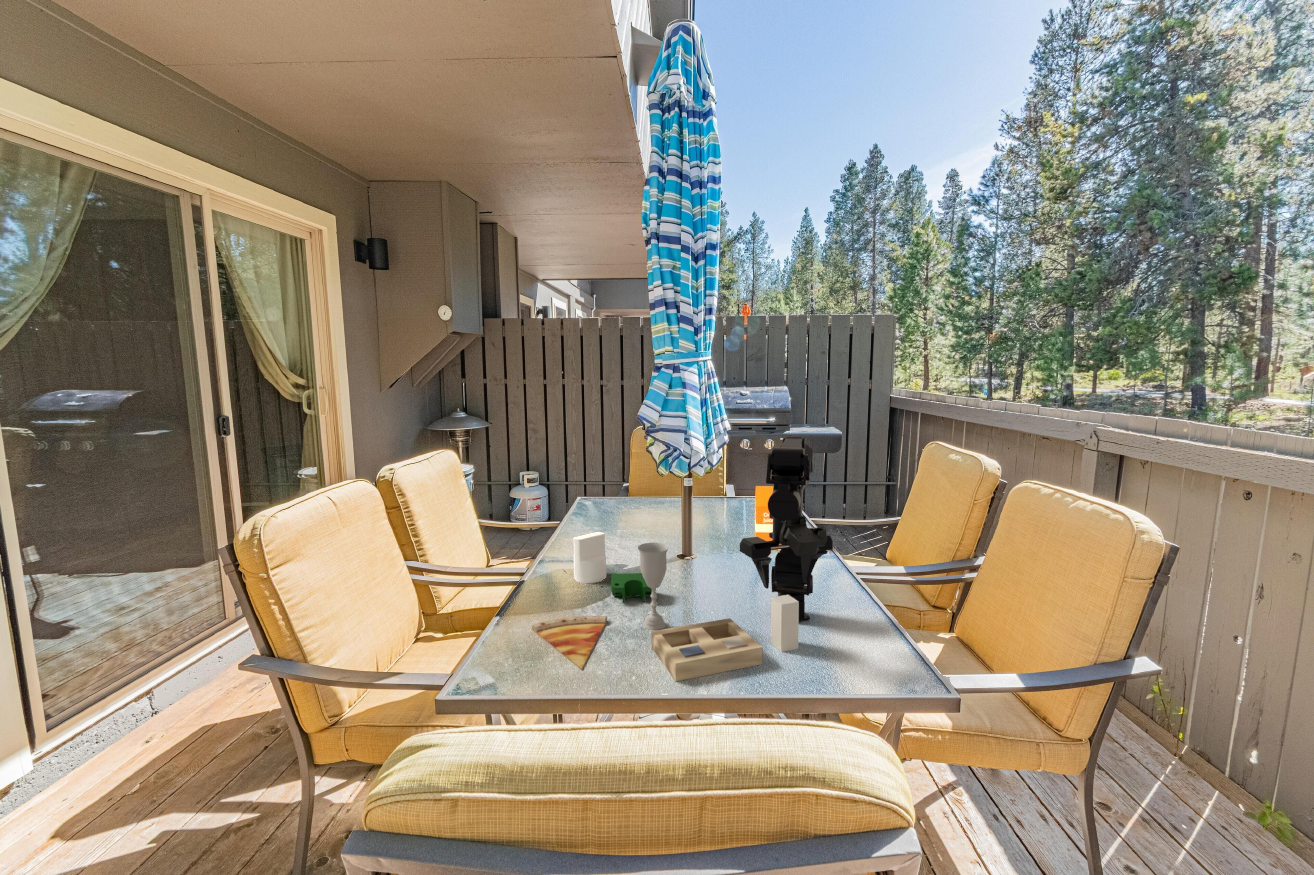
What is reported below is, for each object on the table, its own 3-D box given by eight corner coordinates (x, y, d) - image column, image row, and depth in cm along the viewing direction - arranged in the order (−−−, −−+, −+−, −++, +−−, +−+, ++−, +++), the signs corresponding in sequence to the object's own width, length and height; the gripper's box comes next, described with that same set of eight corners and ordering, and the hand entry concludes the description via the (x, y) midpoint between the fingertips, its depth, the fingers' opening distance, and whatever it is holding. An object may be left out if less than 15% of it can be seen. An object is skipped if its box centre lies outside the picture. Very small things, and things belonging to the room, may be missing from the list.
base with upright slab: (586, 585, 154) (584, 542, 153) (567, 577, 161) (566, 535, 159) (612, 577, 160) (611, 535, 158) (594, 569, 167) (593, 529, 165)
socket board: (651, 647, 119) (651, 630, 119) (730, 633, 125) (730, 616, 124) (675, 681, 106) (675, 662, 105) (762, 664, 112) (762, 645, 111)
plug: (770, 643, 120) (771, 597, 119) (787, 640, 121) (788, 594, 120) (781, 652, 116) (781, 604, 115) (798, 648, 118) (798, 601, 117)
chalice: (634, 621, 132) (632, 544, 130) (661, 615, 134) (660, 541, 132) (646, 634, 125) (645, 554, 123) (674, 628, 128) (673, 549, 126)
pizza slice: (503, 668, 113) (503, 658, 112) (541, 619, 134) (541, 611, 134) (581, 672, 110) (581, 662, 110) (607, 622, 132) (607, 614, 132)
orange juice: (754, 543, 190) (755, 483, 187) (782, 544, 188) (782, 484, 186) (755, 550, 182) (755, 488, 180) (783, 551, 181) (784, 488, 179)
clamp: (619, 618, 144) (604, 590, 141) (620, 603, 149) (605, 576, 146) (663, 601, 143) (649, 572, 140) (662, 586, 148) (648, 559, 145)
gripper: (767, 522, 105) (766, 605, 107) (851, 514, 111) (849, 592, 113) (738, 510, 116) (738, 585, 117) (817, 503, 122) (816, 575, 123)
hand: (786, 585), depth 117 cm, fingers open, 9 cm apart
